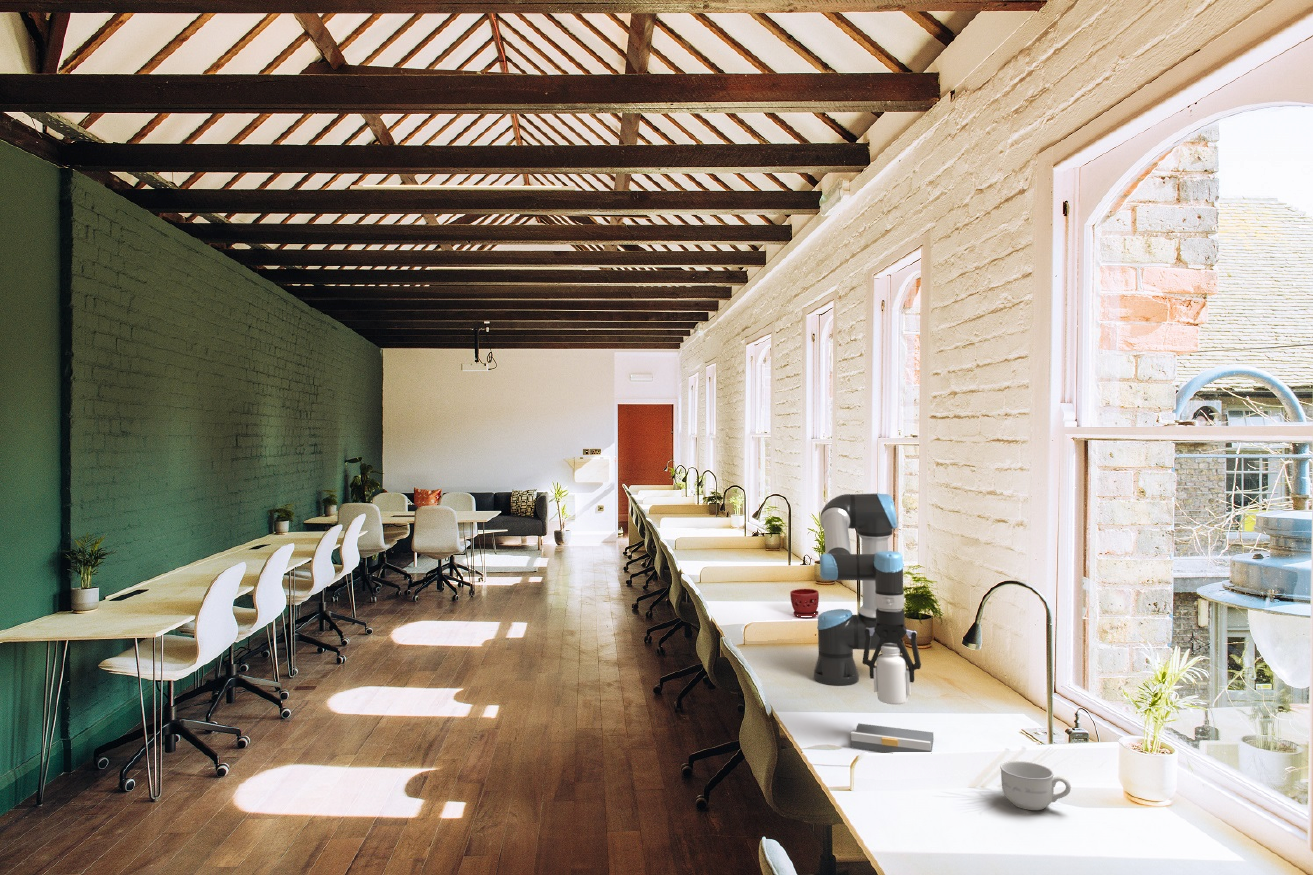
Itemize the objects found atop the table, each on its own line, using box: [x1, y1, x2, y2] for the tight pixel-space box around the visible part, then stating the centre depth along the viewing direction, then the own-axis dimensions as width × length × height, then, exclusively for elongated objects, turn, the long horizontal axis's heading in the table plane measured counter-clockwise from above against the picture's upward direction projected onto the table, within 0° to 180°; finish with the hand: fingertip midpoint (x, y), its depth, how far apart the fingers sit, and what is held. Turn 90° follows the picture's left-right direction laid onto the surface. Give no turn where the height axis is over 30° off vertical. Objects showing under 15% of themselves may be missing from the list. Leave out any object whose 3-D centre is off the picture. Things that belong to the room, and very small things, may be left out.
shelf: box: [850, 722, 934, 753], centre depth 203 cm, size 14×20×4 cm
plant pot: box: [789, 588, 820, 619], centre depth 353 cm, size 13×13×12 cm
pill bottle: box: [875, 643, 909, 705], centre depth 205 cm, size 8×8×15 cm
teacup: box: [999, 760, 1072, 811], centre depth 167 cm, size 14×11×8 cm
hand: (892, 691), depth 205 cm, fingers closed on pill bottle, 8 cm apart
